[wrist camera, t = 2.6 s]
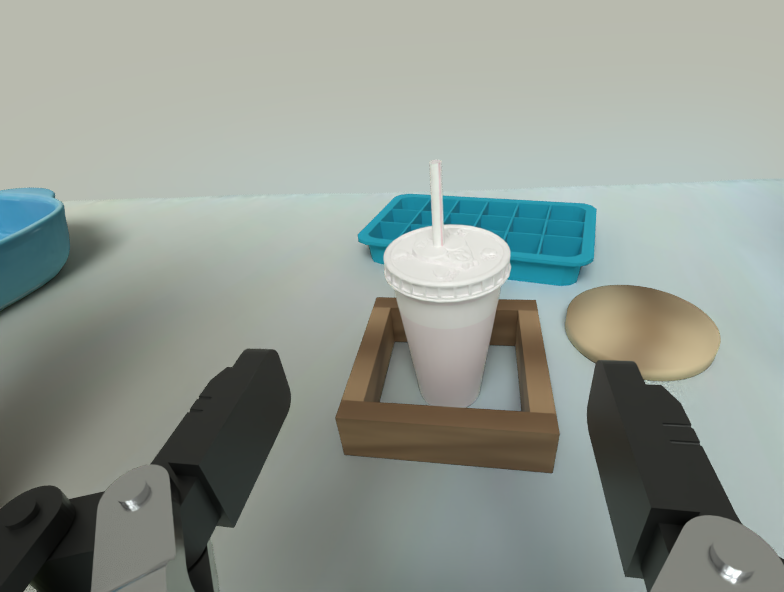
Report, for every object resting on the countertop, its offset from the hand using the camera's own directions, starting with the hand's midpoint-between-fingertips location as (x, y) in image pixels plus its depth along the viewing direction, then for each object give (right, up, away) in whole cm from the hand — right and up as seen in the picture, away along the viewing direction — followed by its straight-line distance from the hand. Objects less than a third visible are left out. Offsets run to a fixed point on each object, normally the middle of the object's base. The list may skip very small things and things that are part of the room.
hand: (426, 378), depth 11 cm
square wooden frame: (+3, -4, +16) cm, 17 cm away
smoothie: (+3, -4, +16) cm, 17 cm away
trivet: (+16, 0, +18) cm, 24 cm away
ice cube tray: (+7, +6, +31) cm, 32 cm away
